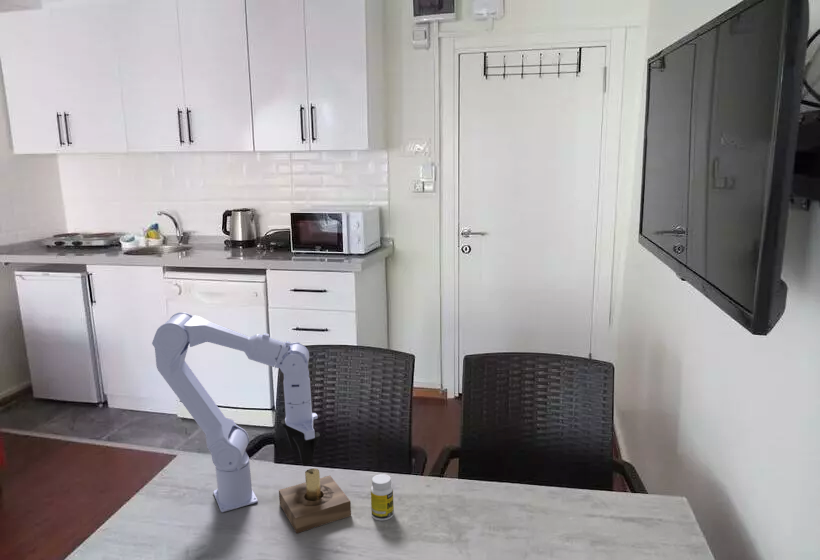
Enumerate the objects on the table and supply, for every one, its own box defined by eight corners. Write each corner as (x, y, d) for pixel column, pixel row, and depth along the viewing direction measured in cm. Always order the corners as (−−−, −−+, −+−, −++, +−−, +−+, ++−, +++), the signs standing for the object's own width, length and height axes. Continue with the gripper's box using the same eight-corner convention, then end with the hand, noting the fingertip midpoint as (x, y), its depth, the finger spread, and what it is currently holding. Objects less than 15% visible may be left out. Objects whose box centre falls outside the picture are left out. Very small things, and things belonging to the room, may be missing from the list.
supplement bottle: (391, 522, 125) (389, 485, 123) (369, 520, 126) (367, 483, 124) (396, 509, 129) (394, 473, 128) (374, 507, 130) (373, 471, 129)
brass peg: (305, 504, 130) (303, 470, 129) (318, 500, 132) (316, 467, 130) (310, 511, 128) (307, 477, 126) (323, 507, 129) (321, 473, 128)
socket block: (279, 504, 132) (278, 490, 132) (331, 489, 138) (330, 475, 137) (296, 533, 122) (295, 518, 121) (351, 515, 128) (350, 500, 127)
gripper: (326, 407, 127) (330, 465, 130) (304, 385, 139) (308, 439, 142) (294, 414, 124) (298, 474, 126) (275, 391, 136) (279, 446, 139)
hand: (301, 456), depth 134 cm, fingers open, 7 cm apart
